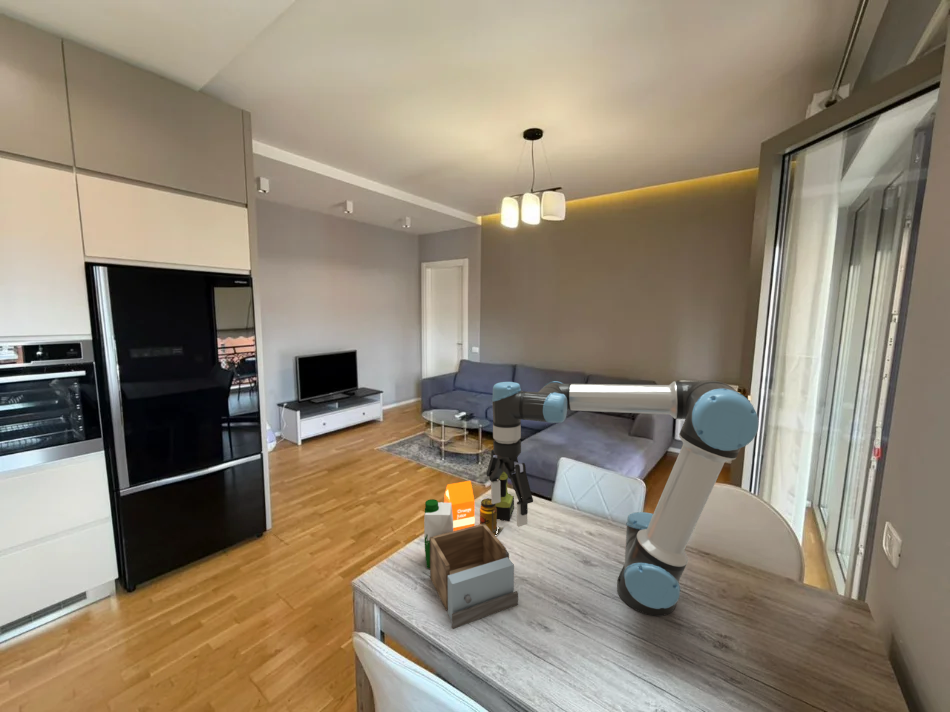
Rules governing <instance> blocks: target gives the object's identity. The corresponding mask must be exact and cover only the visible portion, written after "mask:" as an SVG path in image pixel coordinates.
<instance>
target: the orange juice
mask: <svg viewBox="0 0 950 712" xmlns="http://www.w3.org/2000/svg"><path fill="white" fill-rule="evenodd" d="M443 496H444V497H443V498H444V500H443V502H444V503H451V504H452V513H453V531H456V530H460V529H464V528H468V527H471V526H475V525H476V524H475V523H476V519H475V517H476V514H475V502H476V501H475V497H474V490H473V486H472V481H471V480H467V481H460V482H454V483H448V484H447V485H446V488H445V492H444V495H443Z"/></svg>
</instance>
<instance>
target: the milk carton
mask: <svg viewBox="0 0 950 712" xmlns="http://www.w3.org/2000/svg"><path fill="white" fill-rule="evenodd" d="M424 505H425V506H424V521H423V524H424V526H423V527H424V553H425V554H424V555H425V563H426V569H430V537H433V536H437V535H440V534H444V533H448V532H452V531H453V513H452V504H451V503H444V501H443V502H442V501H441V502H439V501H438V500H437V499H435V498H434V499H433V498H430V499H427V500H426V501H425V504H424Z"/></svg>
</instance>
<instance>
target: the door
mask: <svg viewBox="0 0 950 712" xmlns="http://www.w3.org/2000/svg"><path fill="white" fill-rule="evenodd" d="M514 581H515V564H514V563H513V561H512V560H511V559H510V557H509V558H508V557H507V558H503V559H500V560H497V561H494V562H490V563H487V564H484V565H480V566H477V567H474V568H471V569H467V570H464V571H461V572H458V573H454V574H451V575H448V610H447V615H448V616H449V619H450V621H451V622H452V614H453V613H455V612H458V611H461V610H464V609H467V608H470V607H472V606H475V605H478V604H481V603H484V602H487V601H490V600H492V599H495V598H498V597H501V596H504V595H507V594H509V593H512V592H515V590H514V589H515V588H514V587H515V582H514Z"/></svg>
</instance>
